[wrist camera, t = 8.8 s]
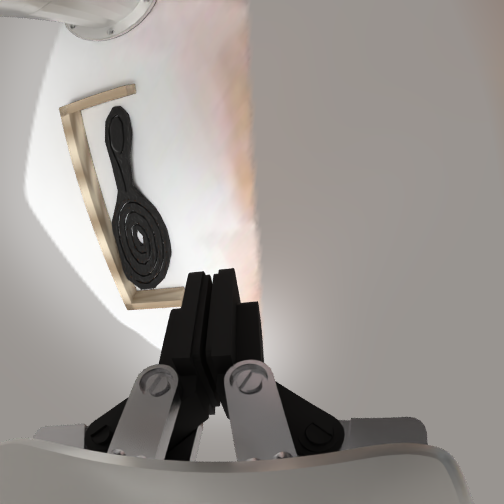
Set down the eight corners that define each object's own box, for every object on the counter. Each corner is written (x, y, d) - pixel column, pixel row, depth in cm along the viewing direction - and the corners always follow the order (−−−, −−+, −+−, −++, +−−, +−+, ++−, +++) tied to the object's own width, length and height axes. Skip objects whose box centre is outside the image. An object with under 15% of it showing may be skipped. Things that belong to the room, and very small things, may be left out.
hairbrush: (142, 101, 29) (173, 293, 42) (152, 100, 32) (177, 277, 45) (78, 115, 29) (118, 293, 42) (92, 112, 32) (126, 279, 45)
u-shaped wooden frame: (70, 104, 30) (58, 107, 28) (134, 83, 30) (125, 85, 27) (132, 297, 47) (127, 310, 44) (185, 293, 46) (182, 306, 44)
